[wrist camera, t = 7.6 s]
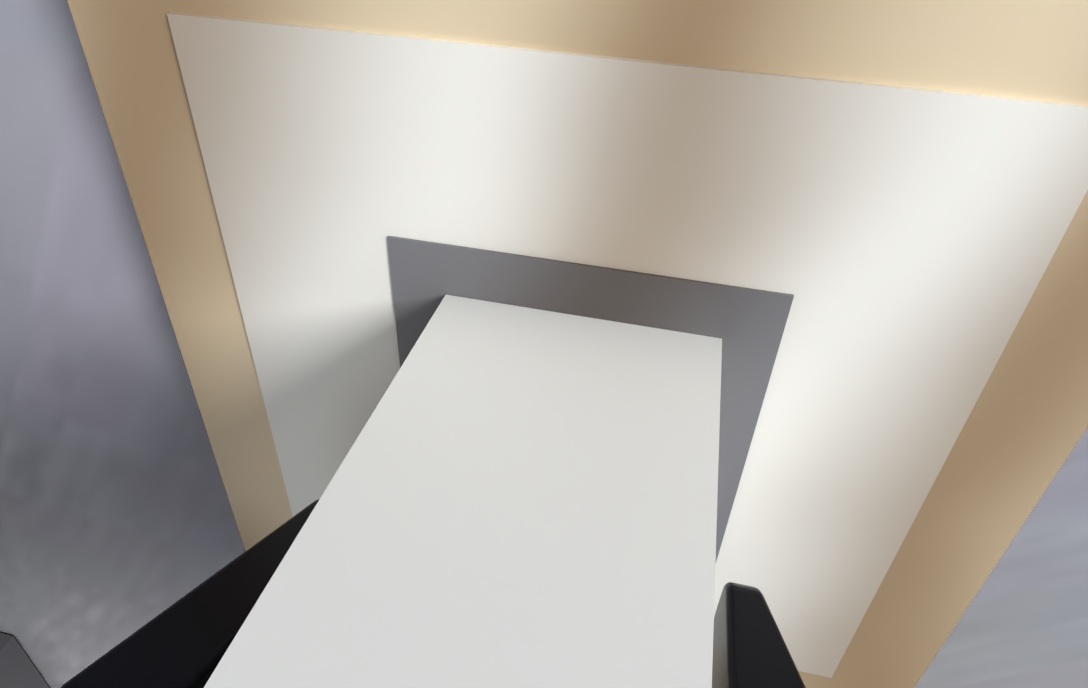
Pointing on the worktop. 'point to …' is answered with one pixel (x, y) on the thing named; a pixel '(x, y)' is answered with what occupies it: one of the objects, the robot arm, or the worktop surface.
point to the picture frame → (647, 250)
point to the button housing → (17, 666)
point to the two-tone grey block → (510, 518)
